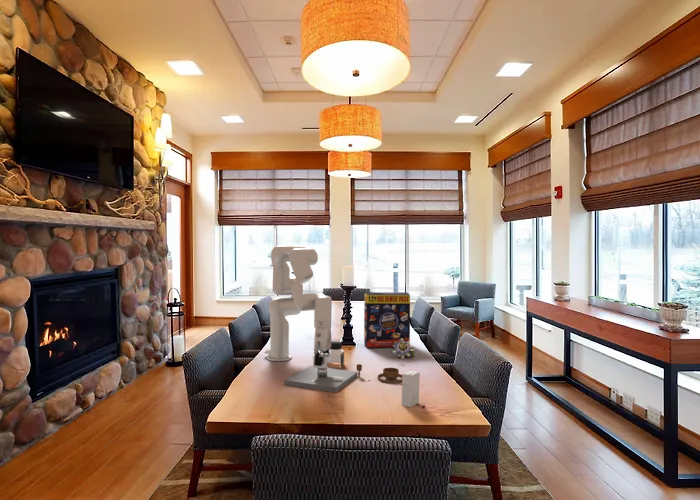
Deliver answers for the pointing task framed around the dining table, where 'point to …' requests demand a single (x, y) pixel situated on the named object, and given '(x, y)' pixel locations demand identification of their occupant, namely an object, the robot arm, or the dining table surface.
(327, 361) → the mallet
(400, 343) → the passion flower
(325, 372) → the steel post
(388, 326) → the cereal box
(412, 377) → the skincare box
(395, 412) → the dining table surface
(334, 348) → the medicine bottle
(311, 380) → the base board
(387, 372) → the tea set
